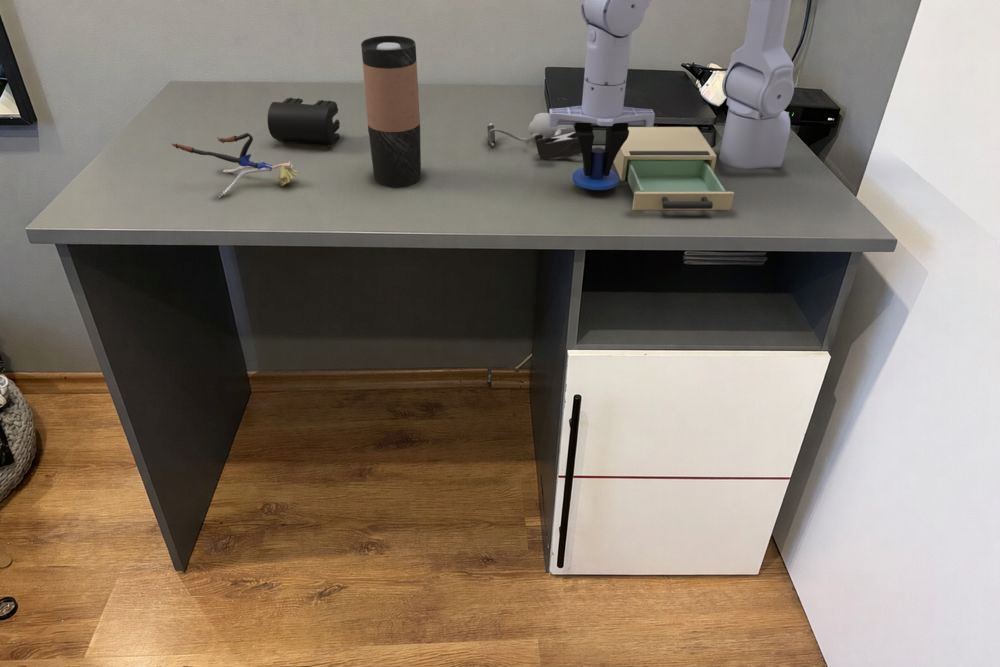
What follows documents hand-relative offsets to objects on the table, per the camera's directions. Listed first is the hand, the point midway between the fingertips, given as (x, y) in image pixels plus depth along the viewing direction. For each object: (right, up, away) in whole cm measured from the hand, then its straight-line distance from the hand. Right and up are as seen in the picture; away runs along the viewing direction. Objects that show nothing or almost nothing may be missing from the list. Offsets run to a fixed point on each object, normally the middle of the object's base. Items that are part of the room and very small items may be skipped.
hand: (595, 173), depth 110 cm
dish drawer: (+11, +3, +10) cm, 15 cm away
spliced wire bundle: (-52, -2, +2) cm, 52 cm away
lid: (0, -1, +1) cm, 1 cm away
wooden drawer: (+12, -4, +1) cm, 12 cm away
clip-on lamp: (-8, +7, +16) cm, 19 cm away
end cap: (-46, +8, +16) cm, 50 cm away
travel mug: (-30, 0, +6) cm, 30 cm away
